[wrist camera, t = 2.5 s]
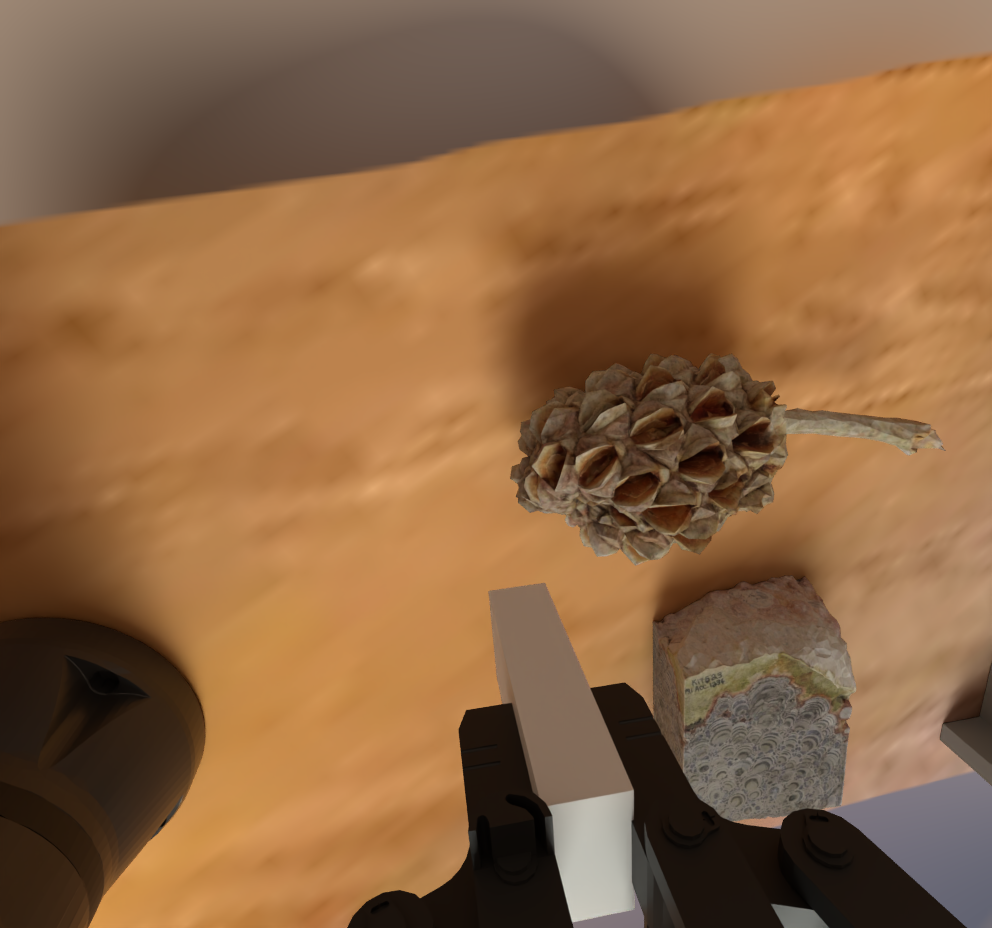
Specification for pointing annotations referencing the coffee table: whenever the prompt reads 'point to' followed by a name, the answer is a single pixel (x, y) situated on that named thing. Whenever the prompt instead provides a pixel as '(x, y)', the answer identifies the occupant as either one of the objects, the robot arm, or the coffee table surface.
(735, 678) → the geological specimen
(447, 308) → the coffee table surface
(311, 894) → the coffee table surface
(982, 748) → the end rail
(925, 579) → the coffee table surface
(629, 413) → the pine cone
